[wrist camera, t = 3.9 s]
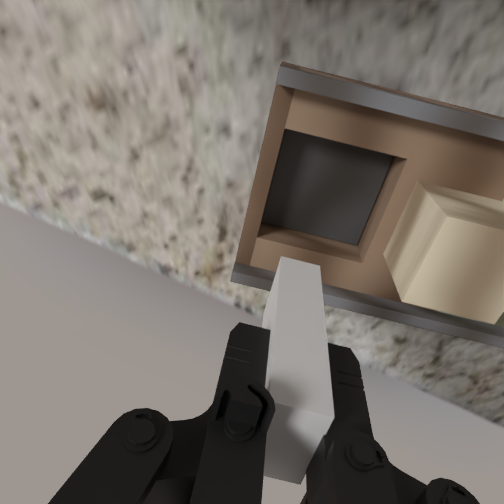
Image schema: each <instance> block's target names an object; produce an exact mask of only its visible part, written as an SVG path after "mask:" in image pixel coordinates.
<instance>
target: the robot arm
mask: <svg viewBox="0 0 504 504" xmlns="http://www.w3.org/2000/svg"><path fill="white" fill-rule="evenodd" d="M361 377H362V376H361V370H360V365H359V361H358V360H357V358H356V357H355V355H354V354H353V352H352V350H351V349H350V348H347V347H343V346H339V345H335V344H330V343H327V333H326V323H325V312H324V302H323V292H322V281H321V271H320V266H319V265H315V264H311V263H307V262H303V261H299V260H295V259H291V258H287V257H283V256H281V258H280V261H279V264H278V268H277V271H276V274H275V278H274V281H273V284H272V288H271V291H270V294H269V298H268V301H267V304H266V308H265V311H264V317H263V324H262V328H260V327H256V326H252V325H248V324H244V323H238V325H237V326H236V327H235V328H234V329H233V330H232V331H231V332H230V335H229V340H228V343H227V348H226V351H225V355H224V359H223V364H222V368H221V372H220V376H219V380H218V384H217V388H216V393H215V397H214V401H213V404H212V405H211V406H210V408H209V409H208V410H207V411H206V412H204V413H203V414H202V415H200V416H198V417H195V418H193V419H188V420H179V421H169V420H168V418H167V417H165V416H164V415H163V414H162V413H160V412H159V411H156V410H152V409H149V408H142V409H134V410H132V411H130V412H127V413H124V414H123V415H122V416H121V417H119V418H118V419H117V420H116V421H115V422H114V423H113V424H112V425H111V427H110V428H109V429H108V430H107V432H106V433H105V434H104V435H103V436H102V438H101V439H100V440H99V442H98V443H97V444H96V445H95V446H94V448H93V449H92V450H91V451H90V452H89V454H88V455H87V456H86V457H85V459H84V460H83V461H82V462H81V464H80V465H79V466H78V467H77V469H76V470H75V471H74V472H73V473H72V475H71V476H70V477H69V478H68V480H67V481H66V482H65V483H64V485H63V486H62V487H61V488H60V489H59V491H58V492H57V493H56V495H55V496H54V497H53V498H52V499H51V500H50V502H49V503H48V504H261V499H262V487H263V476H267V477H271V478H275V479H279V480H283V481H288V482H292V483H296V484H301V482H302V480H303V478H304V476H305V474H306V478H307V479H306V480H307V481H306V482H307V492H306V494H305V496H304V498H303V499H302V501H301V503H300V504H480V503H479V502H478V501H477V499H476V498H475V497H474V496H473V495H472V494H471V493H470V492H469V491H468V490H466V489H465V488H464V487H463V486H461V485H459V484H458V483H456V482H454V481H452V480H449V479H443V478H438V479H435V480H432V481H431V482H430V483H429V484H428V485H425V484H424V483H422V482H420V481H418V480H417V479H415V478H413V477H411V476H409V475H408V474H406V473H404V472H402V471H401V470H399V469H398V468H396V467H395V466H393V465H392V464H391V463H390V462H389V460H388V458H387V456H386V453H385V451H384V450H383V448H382V447H381V446H380V445H379V443H378V442H377V441H375V440H374V437H373V433H372V428H371V423H370V418H369V412H368V407H367V402H366V397H365V391H363V389H364V386H363V381H362V379H361Z"/></svg>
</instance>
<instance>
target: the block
mask: <svg viewBox="0 0 504 504" xmlns="http://www.w3.org/2000/svg"><path fill="white" fill-rule="evenodd" d="M383 255H384V257H385V260H386V263H387V265H388V268H389V270H390V273H391V275H392V278H393V281H394V283H395V286H396V288H397V291H398V293H399V296H400V299H401V301H402V302H405V303H409V304H413V305H417V306H421V307H425V308H429V309H434V310H438V311H442V312H446V313H450V314H454V315H458V316H462V317H466V318H470V319H474V320H479V321H483V322H487V323H491V324H495V323H496V322H497V320H498V319H499V317H500V316H501V315H502V313H503V312H504V202H502V201H499V200H495V199H491V198H487V197H483V196H479V195H475V194H471V193H467V192H463V191H459V190H455V189H451V188H447V187H443V186H439V185H434V184H430V183H426V182H422V181H418V180H417V182H416V184H415V186H414V188H413V191H412V193H411V195H410V197H409V199H408V201H407V204H406V206H405V208H404V210H403V212H402V214H401V217H400V219H399V221H398V223H397V225H396V227H395V230H394V232H393V234H392V236H391V238H390V240H389V243H388V245H387V247H386V249H385V251H384V253H383Z"/></svg>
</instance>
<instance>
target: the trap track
mask: <svg viewBox="0 0 504 504" xmlns="http://www.w3.org/2000/svg"><path fill="white" fill-rule="evenodd" d="M285 128H286V129H285ZM284 129H285V133H284ZM283 133H284V137H283ZM282 137H283V140H282ZM281 141H282V144H281ZM280 145H281V148H280ZM279 149H280V152H279ZM278 153H279V156H278ZM277 157H278V160H277ZM392 159H393V160H392ZM276 161H277V164H276ZM275 165H276V168H275ZM274 168H275V172H274ZM387 171H388V172H387ZM273 172H274V176H273ZM272 176H273V179H272ZM271 180H272V183H271ZM417 180H418V181H422V182H426V183H430V184H434V185H439V186H443V187H447V188H451V189H455V190H459V191H463V192H467V193H471V194H475V195H479V196H483V197H487V198H491V199H495V200H499V201H502V202H504V118H503V117H499V116H495V115H491V114H487V113H483V112H479V111H475V110H471V109H468V108H464V107H460V106H456V105H452V104H448V103H444V102H440V101H436V100H432V99H428V98H424V97H420V96H416V95H412V94H408V93H404V92H400V91H396V90H392V89H388V88H384V87H380V86H376V85H373V84H369V83H365V82H361V81H357V80H353V79H349V78H345V77H341V76H337V75H333V74H329V73H325V72H321V71H317V70H313V69H309V68H305V67H301V66H297V65H293V64H289V63H285V62H282V64H281V65H280V67H279V72H278V76H277V80H276V88H275V92H274V96H273V101H272V105H271V109H270V114H269V118H268V122H267V127H266V131H265V135H264V140H263V144H262V148H261V153H260V157H259V161H258V166H257V170H256V174H255V179H254V183H253V187H252V192H251V196H250V200H249V205H248V209H247V213H246V218H245V222H244V226H243V231H242V235H241V239H240V244H239V248H238V252H237V257H236V261H235V265H234V268H233V272H232V276H231V280H230V282H234V283H239V284H243V285H247V286H251V287H255V288H259V289H263V290H267V291H271V288H272V284H273V281H274V278H275V274H276V271H277V268H278V264H279V261H280V258H281V256H283V257H287V258H291V259H295V260H299V261H303V262H307V263H311V264H315V265H319V266H320V271H321V281H322V292H323V302H324V304H325V305H329V306H333V307H337V308H341V309H345V310H349V311H353V312H358V313H362V314H366V315H370V316H374V317H378V318H382V319H386V320H390V321H394V322H399V323H403V324H407V325H411V326H415V327H419V328H423V329H427V330H431V331H436V332H440V333H444V334H448V335H452V336H456V337H460V338H464V339H468V340H472V341H477V342H481V343H485V344H489V345H493V346H497V347H501V348H504V312H503V313H502V315H501V316H500V317H499V319H498V320H497V322H496V323H495V324H491V323H487V322H483V321H479V320H474V319H470V318H466V317H462V316H458V315H454V314H450V313H446V312H442V311H438V310H434V309H429V308H425V307H421V306H417V305H413V304H409V303H405V302H402V301H401V299H400V296H399V293H398V291H397V288H396V286H395V283H394V281H393V278H392V275H391V273H390V270H389V268H388V265H387V263H386V260H385V257H384V255H383V253H384V251H385V249H386V247H387V245H388V243H389V240H390V238H391V236H392V234H393V232H394V230H395V227H396V225H397V223H398V221H399V219H400V217H401V214H402V212H403V210H404V208H405V206H406V204H407V201H408V199H409V197H410V195H411V193H412V191H413V188H414V186H415V184H416V182H417ZM382 183H383V184H382ZM270 184H271V187H270ZM269 188H270V191H269ZM380 188H381V189H380ZM268 192H269V195H268ZM377 195H378V196H377ZM267 196H268V199H267ZM266 200H267V203H266ZM375 200H376V201H375ZM265 204H266V207H265ZM264 208H265V211H264ZM263 212H264V215H263ZM370 212H371V213H370ZM262 215H263V218H262ZM261 219H262V221H261ZM365 224H366V225H365ZM363 229H364V230H363ZM360 236H361V237H360ZM358 241H359V242H358Z"/></svg>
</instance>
